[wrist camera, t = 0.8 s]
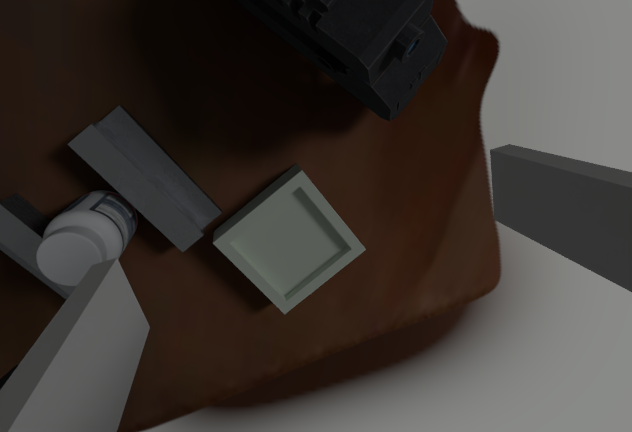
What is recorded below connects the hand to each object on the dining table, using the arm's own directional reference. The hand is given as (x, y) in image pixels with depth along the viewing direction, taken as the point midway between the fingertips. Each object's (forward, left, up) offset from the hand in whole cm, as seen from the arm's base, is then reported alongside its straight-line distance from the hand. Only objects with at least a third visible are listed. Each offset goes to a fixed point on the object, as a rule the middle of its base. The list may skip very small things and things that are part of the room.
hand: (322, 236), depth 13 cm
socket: (-4, -15, -23) cm, 28 cm away
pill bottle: (-4, -15, -24) cm, 28 cm away
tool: (-6, +9, -24) cm, 26 cm away
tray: (+8, -4, -23) cm, 25 cm away
